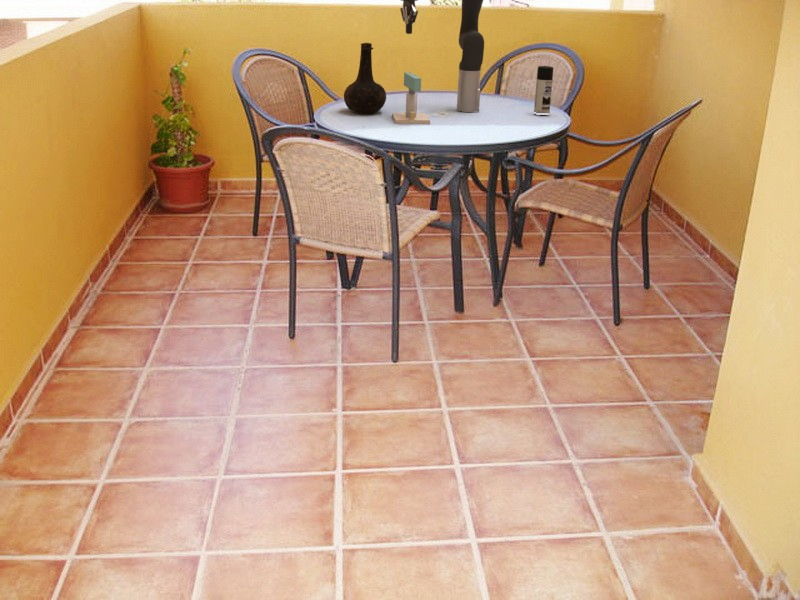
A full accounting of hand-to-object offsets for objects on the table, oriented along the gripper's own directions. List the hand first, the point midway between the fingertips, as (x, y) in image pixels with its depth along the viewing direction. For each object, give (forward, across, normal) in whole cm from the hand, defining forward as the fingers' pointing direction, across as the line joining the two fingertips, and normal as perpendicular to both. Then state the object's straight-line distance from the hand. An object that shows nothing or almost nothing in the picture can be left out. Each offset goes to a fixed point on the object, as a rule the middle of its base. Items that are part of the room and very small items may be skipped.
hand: (408, 33), depth 338 cm
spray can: (+35, +12, +57) cm, 68 cm away
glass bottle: (+32, -11, -15) cm, 37 cm away
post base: (+33, +10, -3) cm, 34 cm away
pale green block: (+22, +10, -3) cm, 24 cm away
